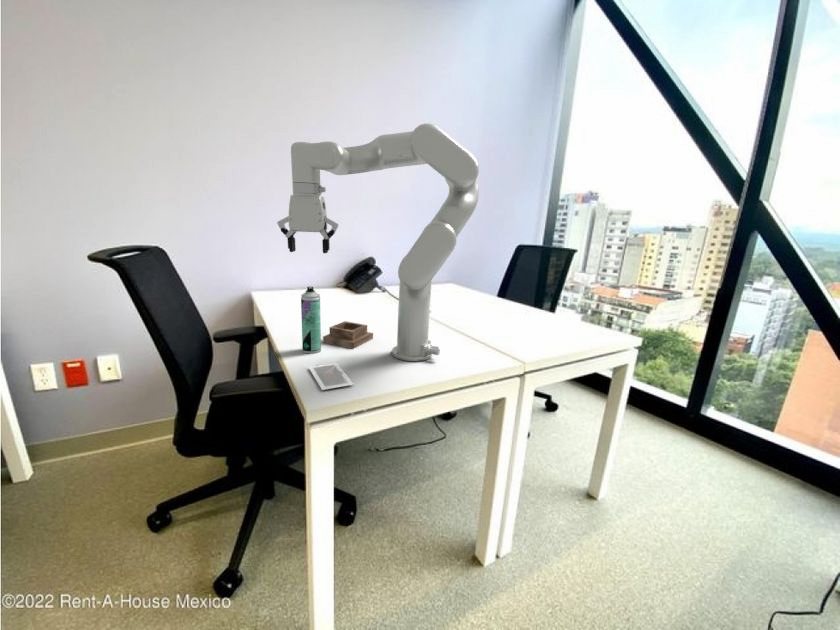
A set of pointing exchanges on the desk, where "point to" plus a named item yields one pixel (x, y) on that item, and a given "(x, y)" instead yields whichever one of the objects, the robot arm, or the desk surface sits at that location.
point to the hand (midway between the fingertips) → (309, 252)
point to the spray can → (311, 321)
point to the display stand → (348, 335)
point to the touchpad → (330, 376)
